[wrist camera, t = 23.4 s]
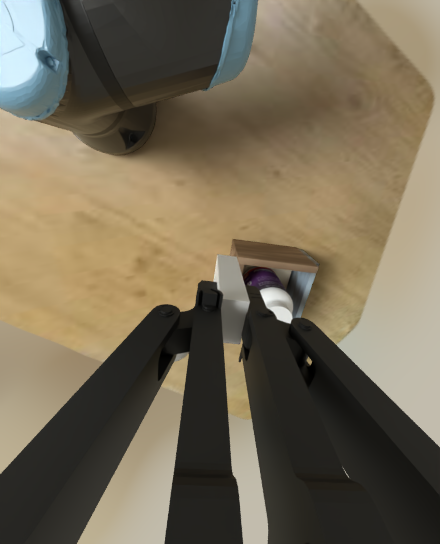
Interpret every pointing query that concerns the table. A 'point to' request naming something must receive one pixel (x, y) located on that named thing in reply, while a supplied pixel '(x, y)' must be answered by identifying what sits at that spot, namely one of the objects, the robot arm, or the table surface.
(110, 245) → the table surface
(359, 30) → the table surface
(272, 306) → the pill bottle
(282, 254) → the wooden drawer box
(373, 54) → the table surface
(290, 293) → the grey drawer
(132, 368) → the robot arm
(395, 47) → the table surface
